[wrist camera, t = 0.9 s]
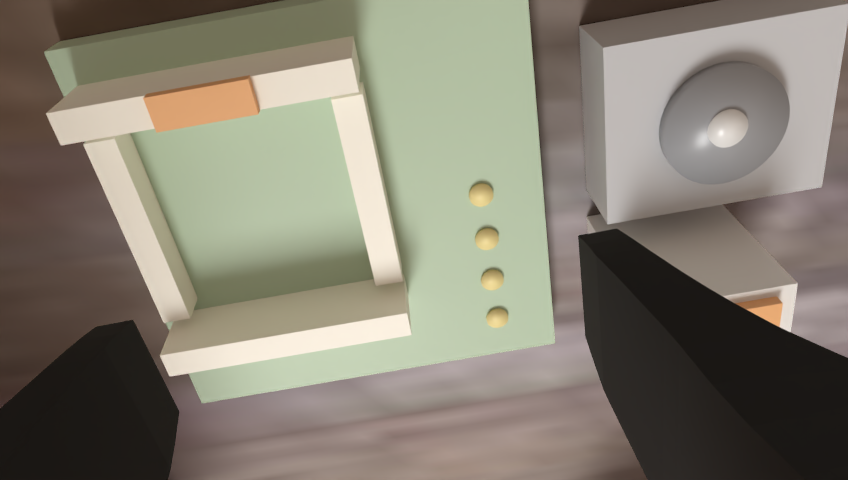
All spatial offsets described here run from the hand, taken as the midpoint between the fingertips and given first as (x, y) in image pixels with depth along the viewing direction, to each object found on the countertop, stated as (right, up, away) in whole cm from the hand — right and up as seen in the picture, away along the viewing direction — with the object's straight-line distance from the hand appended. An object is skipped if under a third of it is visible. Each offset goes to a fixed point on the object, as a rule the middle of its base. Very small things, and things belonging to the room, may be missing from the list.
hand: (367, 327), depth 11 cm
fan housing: (+8, +6, +9) cm, 13 cm away
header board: (-2, +2, +10) cm, 10 cm away
